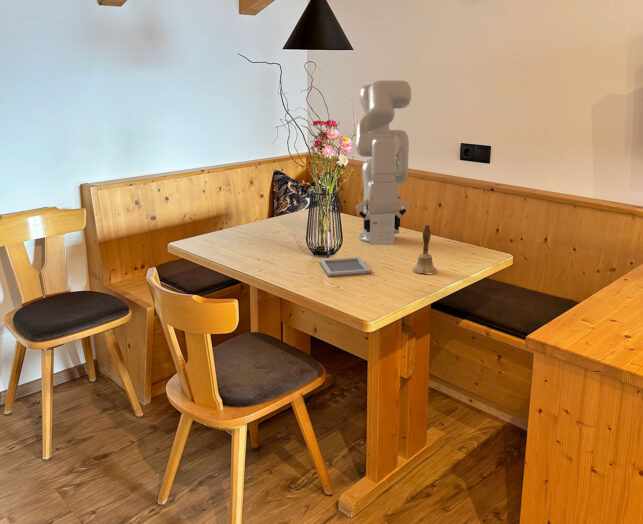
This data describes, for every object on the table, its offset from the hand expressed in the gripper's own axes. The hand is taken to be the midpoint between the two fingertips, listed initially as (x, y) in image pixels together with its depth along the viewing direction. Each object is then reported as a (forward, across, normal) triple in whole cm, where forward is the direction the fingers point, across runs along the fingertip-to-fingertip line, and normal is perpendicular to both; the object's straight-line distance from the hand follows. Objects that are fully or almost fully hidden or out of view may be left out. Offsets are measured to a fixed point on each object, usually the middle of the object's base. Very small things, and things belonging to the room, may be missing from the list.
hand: (381, 230), depth 206 cm
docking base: (+17, +9, -12) cm, 23 cm away
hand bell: (+17, -17, -4) cm, 24 cm away
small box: (+5, 0, 0) cm, 5 cm away
